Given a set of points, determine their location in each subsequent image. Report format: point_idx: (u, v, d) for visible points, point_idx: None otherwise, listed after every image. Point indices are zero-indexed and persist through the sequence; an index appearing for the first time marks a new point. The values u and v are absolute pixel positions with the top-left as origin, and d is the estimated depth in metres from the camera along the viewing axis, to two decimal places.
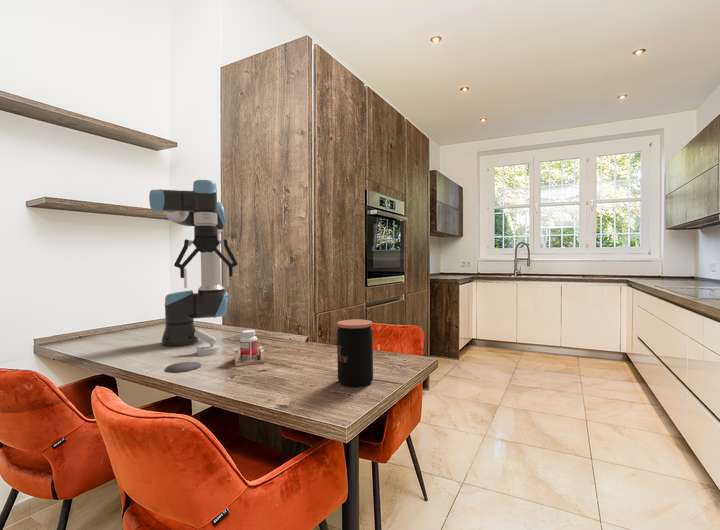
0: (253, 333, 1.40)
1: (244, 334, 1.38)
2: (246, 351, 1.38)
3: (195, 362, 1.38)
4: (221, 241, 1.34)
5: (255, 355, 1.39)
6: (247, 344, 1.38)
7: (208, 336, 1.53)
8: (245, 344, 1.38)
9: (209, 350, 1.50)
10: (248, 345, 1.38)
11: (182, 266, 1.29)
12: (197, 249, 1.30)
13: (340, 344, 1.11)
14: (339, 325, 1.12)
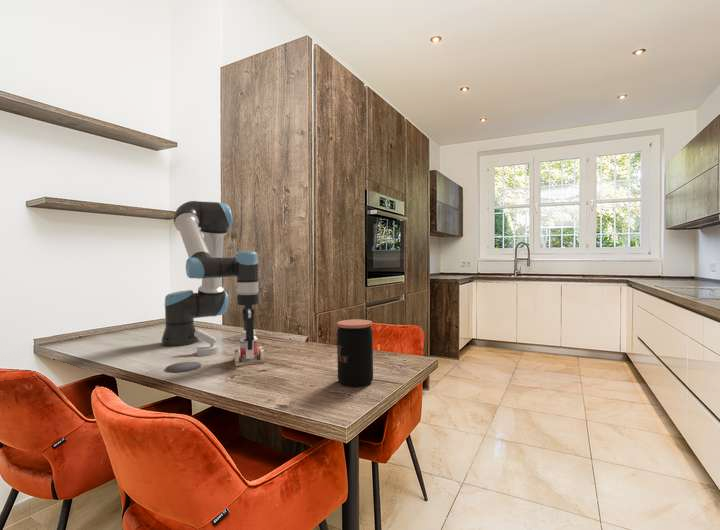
0: None
1: (244, 334, 1.38)
2: None
3: (195, 362, 1.38)
4: (247, 312, 1.36)
5: (255, 355, 1.39)
6: None
7: (208, 336, 1.53)
8: (245, 344, 1.38)
9: (209, 350, 1.50)
10: None
11: None
12: (243, 316, 1.42)
13: (340, 344, 1.11)
14: (339, 325, 1.12)
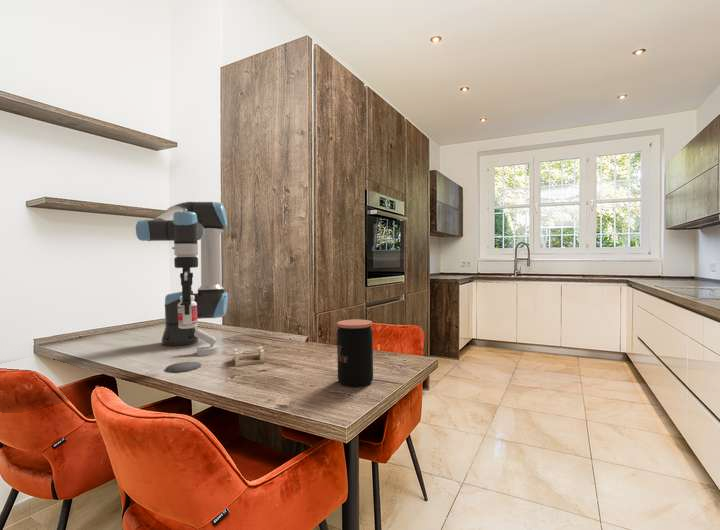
0: (192, 298, 1.32)
1: (181, 298, 1.31)
2: None
3: (195, 362, 1.38)
4: None
5: (194, 321, 1.32)
6: None
7: (208, 336, 1.53)
8: (182, 308, 1.30)
9: (209, 350, 1.50)
10: None
11: None
12: None
13: (340, 344, 1.11)
14: (339, 325, 1.12)
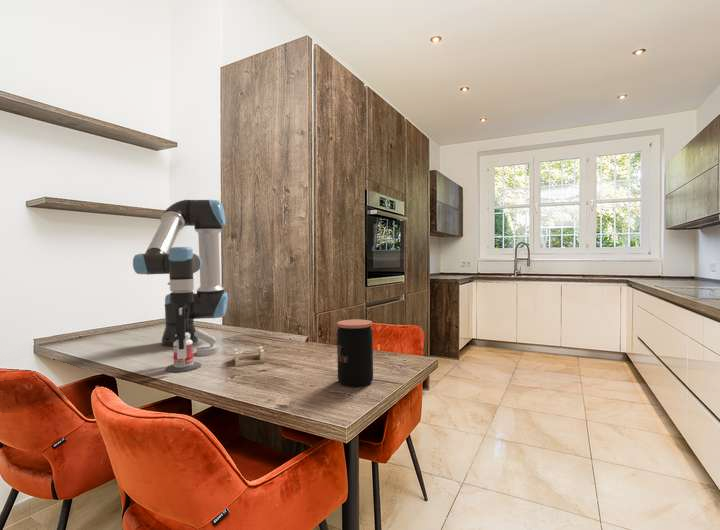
0: (187, 336, 1.32)
1: None
2: None
3: (195, 362, 1.38)
4: None
5: (189, 360, 1.32)
6: None
7: (208, 336, 1.53)
8: None
9: (209, 350, 1.50)
10: None
11: None
12: None
13: (340, 344, 1.11)
14: (339, 325, 1.12)
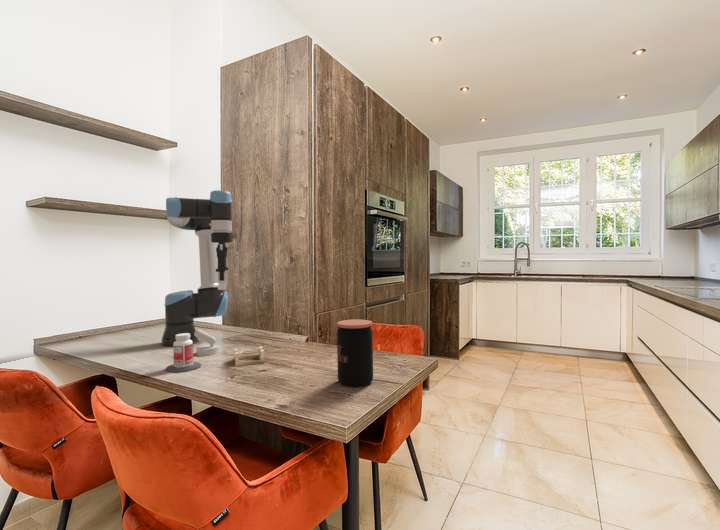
0: (187, 336, 1.32)
1: (177, 338, 1.31)
2: (179, 355, 1.30)
3: (195, 362, 1.38)
4: None
5: (189, 360, 1.32)
6: (179, 348, 1.30)
7: (208, 336, 1.53)
8: (178, 348, 1.30)
9: (209, 350, 1.50)
10: (180, 349, 1.30)
11: None
12: None
13: (340, 344, 1.11)
14: (339, 325, 1.12)
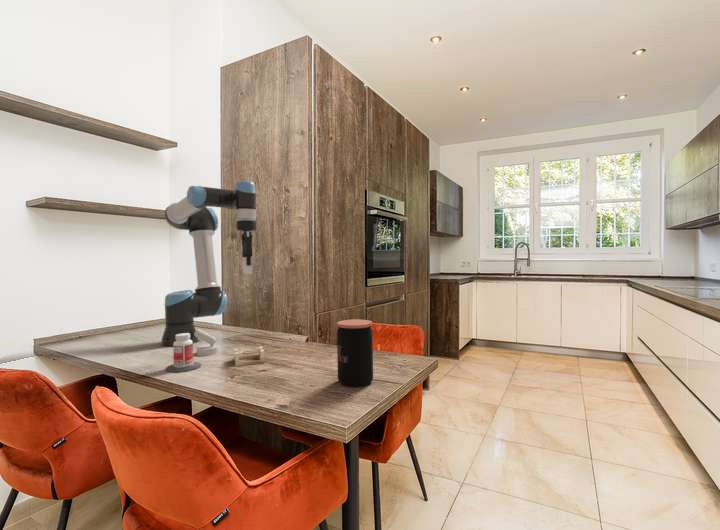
0: (187, 336, 1.32)
1: (177, 338, 1.31)
2: (179, 355, 1.30)
3: (195, 362, 1.38)
4: None
5: (189, 360, 1.32)
6: (179, 348, 1.30)
7: (208, 336, 1.53)
8: (178, 348, 1.30)
9: (209, 350, 1.50)
10: (180, 349, 1.30)
11: (242, 255, 1.60)
12: None
13: (340, 344, 1.11)
14: (339, 325, 1.12)
